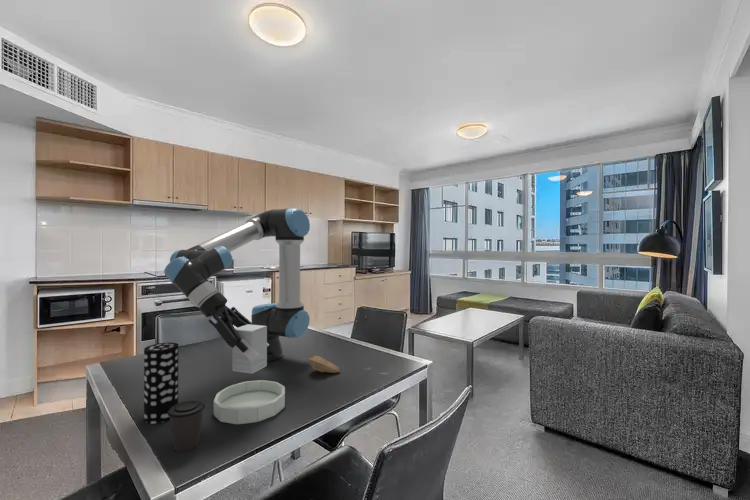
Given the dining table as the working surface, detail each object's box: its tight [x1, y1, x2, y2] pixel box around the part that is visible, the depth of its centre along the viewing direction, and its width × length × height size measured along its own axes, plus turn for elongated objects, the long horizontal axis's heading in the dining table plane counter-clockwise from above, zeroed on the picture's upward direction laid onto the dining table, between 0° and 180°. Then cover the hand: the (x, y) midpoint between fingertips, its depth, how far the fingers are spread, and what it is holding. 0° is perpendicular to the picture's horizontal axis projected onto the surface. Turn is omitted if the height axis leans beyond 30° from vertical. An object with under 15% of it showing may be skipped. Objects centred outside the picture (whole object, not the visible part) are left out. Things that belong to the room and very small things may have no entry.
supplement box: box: [231, 324, 268, 375], centre depth 102 cm, size 7×7×13 cm
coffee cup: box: [167, 400, 206, 452], centre depth 83 cm, size 8×8×10 cm
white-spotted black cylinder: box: [143, 342, 179, 425], centre depth 97 cm, size 8×8×20 cm
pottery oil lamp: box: [308, 355, 341, 374], centre depth 130 cm, size 9×12×7 cm
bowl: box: [213, 379, 286, 425], centre depth 103 cm, size 20×20×4 cm
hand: (260, 352), depth 102 cm, fingers closed on supplement box, 9 cm apart
